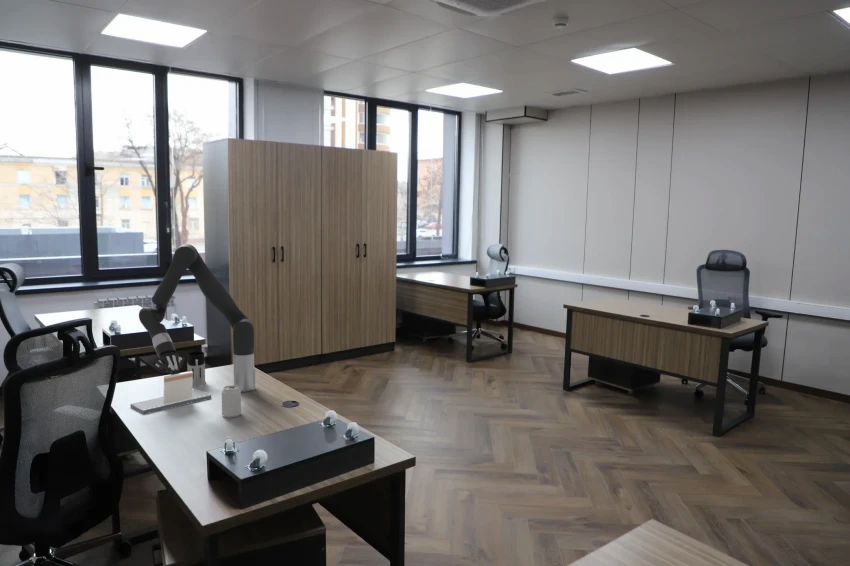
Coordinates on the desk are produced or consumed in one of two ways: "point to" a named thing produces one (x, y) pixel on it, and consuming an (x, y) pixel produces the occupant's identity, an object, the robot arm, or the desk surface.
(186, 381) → the white square panel
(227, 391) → the can
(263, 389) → the desk surface
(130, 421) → the desk surface
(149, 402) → the board
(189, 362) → the glass holder
